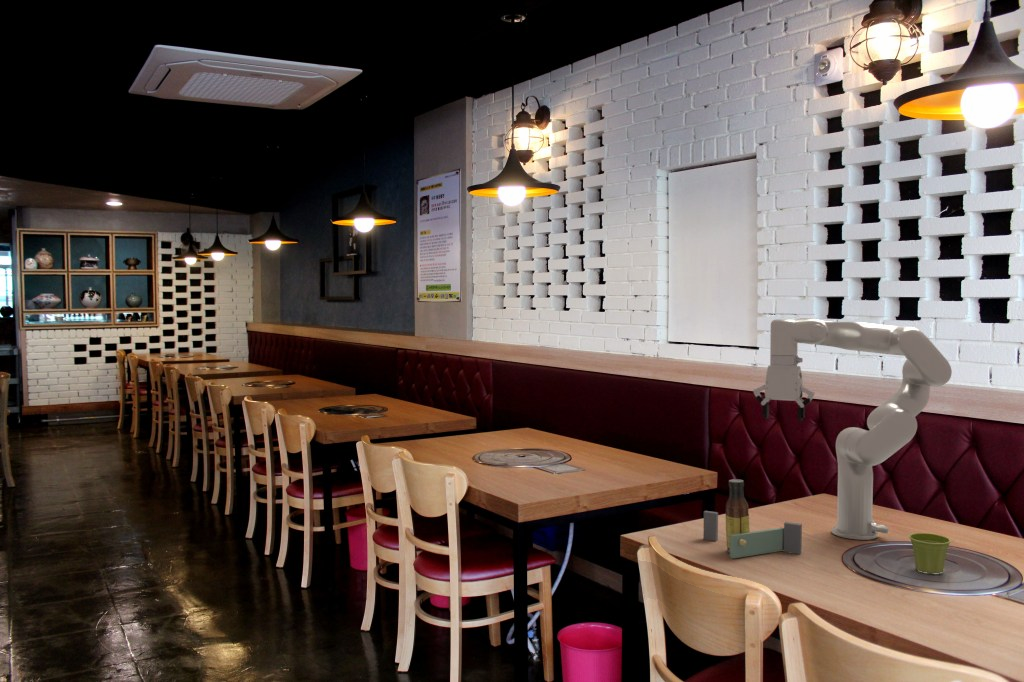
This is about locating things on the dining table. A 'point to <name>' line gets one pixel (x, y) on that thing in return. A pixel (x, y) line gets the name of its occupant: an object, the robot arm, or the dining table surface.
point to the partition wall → (790, 532)
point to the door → (756, 542)
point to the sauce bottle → (736, 511)
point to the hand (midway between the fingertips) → (783, 419)
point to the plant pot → (929, 551)
